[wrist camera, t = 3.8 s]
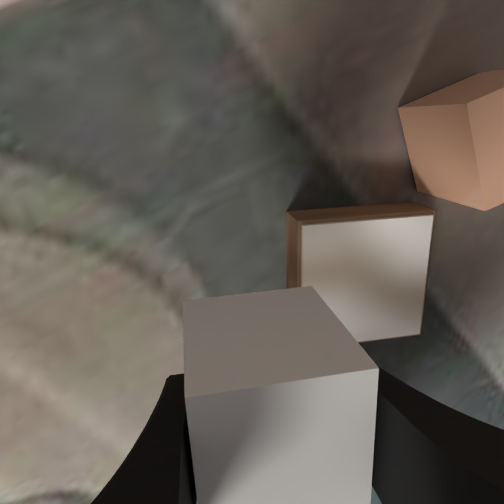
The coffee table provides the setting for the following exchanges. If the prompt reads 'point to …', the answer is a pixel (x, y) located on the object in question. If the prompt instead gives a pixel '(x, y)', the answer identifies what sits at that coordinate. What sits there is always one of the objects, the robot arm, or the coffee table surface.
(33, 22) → the coffee table surface
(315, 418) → the stone block
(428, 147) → the terracotta block
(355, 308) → the plinth
